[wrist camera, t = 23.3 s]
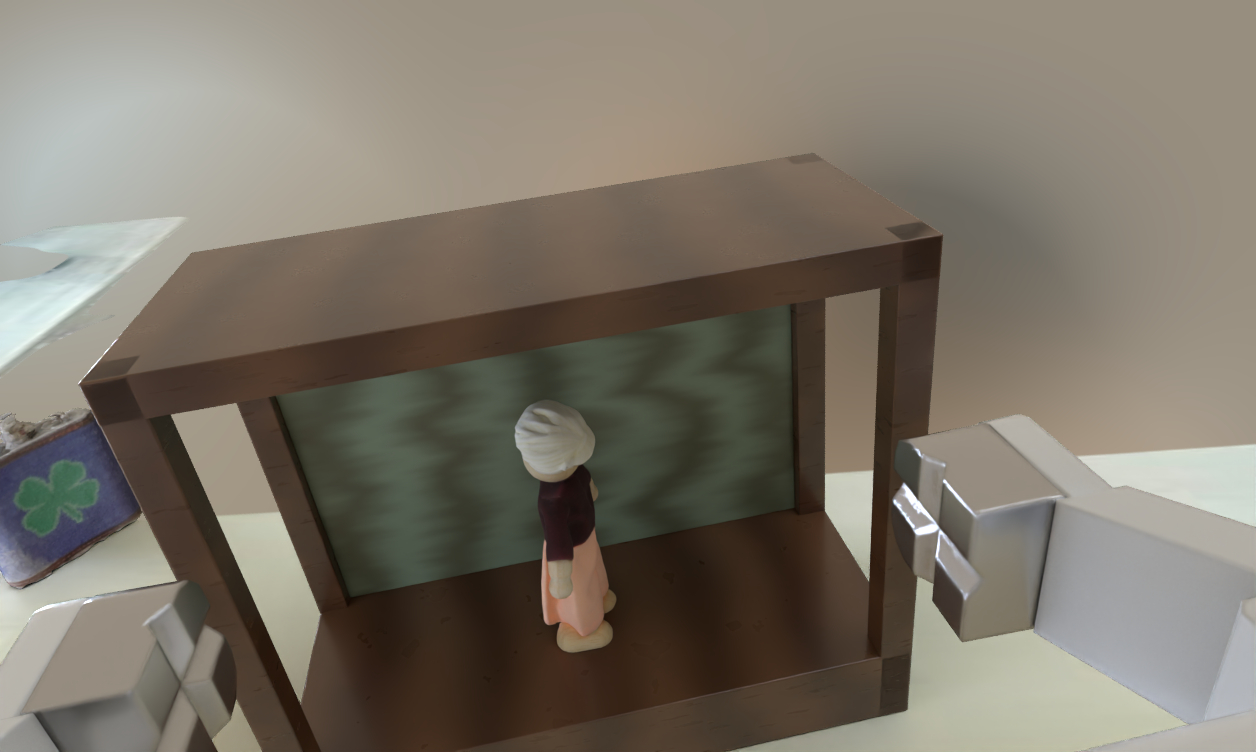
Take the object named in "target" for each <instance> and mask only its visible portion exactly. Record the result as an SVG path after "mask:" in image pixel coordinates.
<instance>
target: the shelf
mask: <svg viewBox="0 0 1256 752" xmlns="http://www.w3.org/2000/svg"><path fill="white" fill-rule="evenodd" d="M942 241H943V234H941V233H940V232H938V231H937V230H935V229H934V228H932V227H930V226H929V225H927V224H926V223H924V222H923V221H921V220H919V219H918V218H916V217H915V216H913V215H911V214H910V213H908V212H907V211H905V210H903V209H902V208H900V207H899V206H897V205H896V204H894V203H892V202H891V201H889V200H887V199H886V198H884V197H883V196H881V195H880V194H878V193H877V192H875V191H873V190H872V189H870V188H869V187H867V186H865V185H864V184H862V183H861V182H859V181H858V180H856V179H854V178H853V177H851V176H849V175H848V174H846V173H845V172H843V171H842V170H840V169H838V168H837V167H835V166H834V165H832V164H830V163H829V162H827V161H826V160H824V159H823V158H821V157H819V156H818V155H816V154H815V153H810V154H804V155H798V156H791V157H785V158H779V159H773V160H766V161H760V162H754V163H748V164H742V165H736V166H729V167H723V168H717V169H710V170H704V171H698V172H692V173H686V174H680V175H673V176H667V177H661V178H655V179H648V180H642V181H636V182H630V183H623V184H617V185H611V186H605V187H598V188H593V189H586V190H580V191H573V192H567V193H561V194H555V195H549V196H543V197H537V198H530V199H524V200H518V201H511V202H505V203H499V204H493V205H487V206H480V207H474V208H468V209H462V210H455V211H449V212H443V213H437V214H430V215H424V216H418V217H412V218H405V219H399V220H393V221H387V222H381V223H375V224H368V225H362V226H356V227H350V228H344V229H337V230H331V231H325V232H319V233H312V234H306V235H300V236H293V237H288V238H281V239H275V240H269V241H262V242H256V243H250V244H244V245H237V246H231V247H225V248H219V249H213V250H207V251H200V252H194V253H191V254H190V255H189V256H188V257H187V259H186V260H185V261H184V262H183V263H182V264H181V266H180V267H179V268H178V269H177V270H176V271H175V272H174V274H173V275H172V276H171V277H170V278H169V279H168V281H167V282H166V283H165V284H164V285H163V287H161V289H160V290H159V291H158V292H157V293H156V294H155V296H154V297H153V298H152V299H151V300H150V301H149V302H148V304H147V305H146V306H145V307H144V308H143V310H142V311H141V312H140V313H139V314H138V315H137V316H136V318H135V319H134V320H133V321H132V322H131V323H130V324H129V326H128V327H127V328H126V329H125V330H124V331H123V333H122V334H121V335H120V336H119V337H118V338H117V339H116V341H115V342H114V343H113V344H112V345H111V346H110V348H109V349H108V350H107V351H106V352H105V353H104V355H103V356H102V357H101V358H100V359H99V360H98V362H97V363H96V364H95V365H94V366H93V367H92V368H91V370H90V371H89V372H88V373H87V374H86V375H85V377H84V378H83V379H82V380H81V381H80V382H79V384H78V385H79V387H80V389H81V391H82V393H83V395H84V397H85V399H86V401H87V403H88V405H89V407H90V409H91V411H92V413H93V415H94V417H95V419H96V421H97V423H98V425H99V427H100V428H101V430H102V432H103V434H104V436H105V438H106V440H107V442H108V444H109V446H110V448H111V450H112V452H113V454H114V456H115V458H116V460H117V462H118V464H119V466H120V468H121V470H122V472H123V474H124V476H125V478H126V480H127V482H128V484H129V486H130V488H131V490H132V492H133V494H134V496H135V498H136V500H137V502H138V504H139V506H140V508H141V510H142V512H143V514H144V516H145V518H146V520H147V522H148V524H149V526H150V528H151V530H152V532H153V534H154V536H155V538H156V540H157V542H158V544H159V546H160V548H161V550H162V552H163V554H164V556H165V558H166V560H167V562H168V564H169V566H170V568H171V570H172V572H173V574H174V576H175V578H176V580H177V581H181V580H187V579H188V580H190V581H193V582H196V583H198V584H199V585H200V587H201V589H202V591H203V592H204V594H205V596H206V598H207V600H208V602H209V604H210V605H211V606H210V609H209V612H208V614H207V617H206V620H205V622H204V624H206V625H207V626H209V627H211V628H213V629H215V630H216V631H218V632H220V633H222V634H224V635H225V637H226V639H227V641H228V643H229V645H230V648H231V650H232V652H233V657H234V661H235V665H236V670H237V692H236V699H237V701H238V703H239V705H240V707H241V709H242V711H243V713H244V715H245V717H246V719H247V721H248V723H249V725H250V727H251V729H252V731H253V733H254V735H255V737H256V739H257V741H258V743H259V745H260V747H261V749H262V751H263V752H724V751H728V750H733V749H737V748H741V747H746V746H750V745H754V744H759V743H763V742H768V741H772V740H776V739H781V738H785V737H789V736H794V735H798V734H802V733H807V732H811V731H816V730H820V729H824V728H829V727H833V726H837V725H842V724H846V723H850V722H855V721H859V720H864V719H868V718H872V717H877V716H882V715H887V714H891V713H895V712H900V711H904V710H907V708H908V695H909V681H910V668H911V655H912V641H913V628H914V614H915V601H916V587H917V576H916V575H914V574H913V572H912V571H911V569H910V568H909V566H908V565H907V563H906V562H905V561H904V559H903V557H902V554H901V552H900V550H899V548H898V546H897V543H896V539H895V534H894V530H893V526H892V499H893V497H894V496H895V494H896V493H897V492H898V490H899V489H900V488H901V486H902V485H903V484H904V482H903V481H902V479H901V478H900V477H899V476H898V474H897V473H896V472H895V470H894V455H895V450H896V447H897V445H898V442H899V440H903V439H908V438H913V437H918V436H923V435H928V426H929V413H930V400H931V386H932V373H933V358H934V346H935V332H936V318H937V305H938V292H939V279H940V267H941V254H942ZM878 288H880V314H879V340H878V366H877V367H878V369H877V393H876V419H875V420H876V421H875V446H874V473H873V499H872V526H871V552H870V579H869V581H868V580H867V578H866V577H865V575H864V573H863V572H862V570H861V569H860V567H859V565H858V564H857V562H856V561H855V559H854V557H853V556H852V554H851V552H850V551H849V549H848V548H847V546H846V544H845V543H844V541H843V540H842V538H841V536H840V535H839V533H838V532H837V530H836V528H835V527H834V525H833V523H832V522H831V520H830V519H829V517H828V515H827V514H826V512H825V298H828V297H833V296H839V295H844V294H849V293H855V292H861V291H867V290H872V289H878ZM541 400H551V401H556V402H559V403H561V404H563V405H565V406H569V407H571V408H573V409H575V410H577V411H578V412H579V413H580V414H581V416H582V417H583V419H584V420H585V422H586V425H587V426H589V428H590V429H591V430H592V432H593V434H594V436H595V446H594V449H593V453H592V456H591V457H590V458H589V459H588V460H587V461H586V462H585V463H583V465H584V466H585V468H587V469H588V471H589V472H590V474H591V478H592V480H593V483H594V485H595V486H596V487H597V489H598V497H597V498H596V500H595V501H593V502H594V508H595V533H596V540H597V542H598V544H599V547H600V551H601V555H602V560H603V563H604V567H605V570H606V574H607V579H608V584H609V587H608V589H609V590H611V591H612V592H613V593H614V594H615V595H616V603H615V606H614V608H613V609H612V610H611V611H609V612H607V613H604V617H603V620H605V621H607V622H608V623H609V624H610V625H611V627H612V629H613V637H612V640H611V642H610V643H609V644H608V645H606V646H604V647H602V648H597V649H591V650H586V651H580V652H574V653H572V652H567V651H563V650H562V649H561V648H560V647H559V646H558V644H557V631H558V629H559V625H560V623H561V622H557V623H555V624H553V625H547V624H546V623H545V621H544V614H543V607H542V588H541V579H542V559H543V545H544V540H545V538H544V531H543V527H542V524H541V520H540V516H539V512H538V495H539V488H540V480H539V479H537V478H535V477H533V476H532V475H531V474H530V473H529V471H528V470H527V468H526V467H525V465H524V462H523V458H522V453H521V451H520V450H519V449H518V448H517V447H516V441H515V433H516V430H515V426H516V425H517V423H518V420H519V419H520V417H521V415H522V414H523V412H524V411H525V409H526V408H527V407H528V406H530V405H532V404H534V403H536V402H538V401H541ZM232 403H237V405H238V408H239V411H240V413H241V416H242V418H243V420H244V423H245V426H246V428H247V431H248V433H249V436H250V438H251V440H252V443H253V446H254V448H255V451H256V453H257V456H258V458H259V461H260V463H261V466H262V468H263V471H264V473H265V475H266V478H267V481H268V483H269V486H270V488H271V491H272V493H273V496H274V498H275V501H276V503H277V506H278V508H279V511H280V513H281V516H282V518H283V521H284V523H285V526H286V528H287V531H288V533H289V536H290V538H291V541H292V543H293V546H294V548H295V551H296V553H297V556H298V558H299V561H300V563H301V566H302V568H303V571H304V573H305V576H306V578H307V581H308V583H309V586H310V588H311V591H312V593H313V596H314V598H315V601H316V604H317V606H318V609H319V611H320V618H319V622H318V627H317V632H316V636H315V641H314V646H313V650H312V655H311V660H310V664H309V669H308V673H307V678H306V683H305V687H304V692H303V697H302V701H301V705H300V703H299V701H298V698H297V696H296V694H295V692H294V689H293V687H292V685H291V683H290V681H289V678H288V676H287V674H286V672H285V669H284V667H283V665H282V663H281V660H280V658H279V656H278V654H277V651H276V649H275V647H274V645H273V643H272V640H271V638H270V636H269V634H268V631H267V629H266V627H265V625H264V622H263V620H262V618H261V616H260V614H259V611H258V609H257V607H256V605H255V602H254V600H253V598H252V596H251V593H250V591H249V589H248V587H247V584H246V582H245V580H244V578H243V576H242V573H241V571H240V569H239V567H238V564H237V562H236V560H235V558H234V555H233V553H232V551H231V549H230V546H229V544H228V542H227V540H226V538H225V535H224V533H223V531H222V529H221V526H220V524H219V522H218V520H217V517H216V515H215V513H214V511H213V509H212V506H211V504H210V502H209V500H208V497H207V495H206V493H205V491H204V488H203V486H202V484H201V482H200V479H199V477H198V475H197V473H196V471H195V468H194V466H193V464H192V462H191V459H190V457H189V455H188V453H187V451H186V448H185V446H184V444H183V442H182V439H181V437H180V435H179V433H178V430H177V428H176V426H175V424H174V421H173V419H172V417H171V414H176V413H182V412H187V411H193V410H199V409H204V408H210V407H216V406H221V405H227V404H232Z"/></svg>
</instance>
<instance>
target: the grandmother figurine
mask: <svg viewBox="0 0 1256 752" xmlns="http://www.w3.org/2000/svg"><path fill="white" fill-rule="evenodd" d="M515 430H516V433H515V441H516V447H517V448H518V449H519V450H520V451H521V453H522V458H523V462H524V465H525V467H526V468H527V470H528V471H529V473H530V474H531V475H532V476H533V477H535V478H537V479H539V480H540V488H539V495H538V512H539V516H540V520H541V524H542V527H543V531H544V538H545V540H544V545H543V559H542V579H541V588H542V607H543V614H544V621H545V623H546V624H547V625H553V624H555V623H557V622H561V623H560V625H559V629H558V631H557V644H558V646H559V647H560V648H561V649H562V650H563V651H567V652H572V653H574V652H580V651H586V650H591V649H597V648H602V647H604V646H606V645H608V644H609V643H610V642H611V640H612V637H613V629H612V627H611V625H610V624H609V623H608V622H607V621H605V620H603V617H604V613H607V612H609V611H611V610H612V609H613V608H614V606H615V603H616V595H615V594H614V593H613V592H612V591H611V590H609V589H608V587H609V584H608V579H607V574H606V570H605V567H604V563H603V560H602V555H601V551H600V547H599V544H598V542H597V540H596V533H595V508H594V502H593V501H595V500H596V498H597V497H598V489H597V487H596V486H595V485H594V483H593V480H592V478H591V474H590V472H589V471H588V469H587V468H585V466H584V465H583V463H585V462H586V461H587V460H588V459H589V458H590V457H591V456H592V453H593V449H594V446H595V436H594V434H593V432H592V430H591V429H590V428H589V426H587V425H586V422H585V420H584V419H583V417H582V416H581V414H580V413H579V412H578V411H577V410H575V409H573V408H571V407H569V406H565V405H563V404H561V403H559V402H556V401H551V400H541V401H538V402H536V403H534V404H532V405H530V406H528V407H527V408H526V409H525V411H524V412H523V414H522V415H521V417H520V419H519V420H518V423H517V425H516V426H515Z"/></svg>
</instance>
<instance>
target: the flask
mask: <svg viewBox="0 0 1256 752" xmlns="http://www.w3.org/2000/svg"><path fill="white" fill-rule="evenodd" d="M11 414H12V413H11V412H7V413H5V414H3V415H1V416H0V420H3V421H2V422H0V431H1V435H0V438H1V439H2V440H3V441H4V442H2V443H0V571H1V572H2V574H3V576H4V578H5V580H6V581H7V582H8V583H9V584H10V585H11V586H12V587H13V586H14V587H17V588H20V589H21V588H23V587H25V585H27V584H30V583H33V582H37V581H39V580H41V579H43V578H44V577H47V576H49V575H51V574H52V572H51V571H52V570H55V569H57V568H59V567H60V566H62V565H63V564H66V563H68V562H69V561H72V560H73V559H75V558H76V557H78V556H81V555H82V554H83V553H85V552H87V551H88V549H89V548H90V547H91V546H92V545H93V544H94V543H96V542H98V541H104V539H106V538H107V537H108V536H109V535H110V534H112V533H113V532H116V531H120V529H122V528H123V527H124V526H125V525H128V524H129V523H132V522H134V521H136V520H137V519H138V517H140V514H141V513H142V511H141V508H140V506H139V504H138V502H137V500H136V498H135V496H134V494H133V492H132V490H131V488H130V486H129V484H128V482H127V480H126V478H125V476H124V474H123V472H122V470H121V468H120V466H119V464H118V462H117V460H116V458H115V456H114V454H113V452H112V450H111V448H110V446H109V444H108V442H107V440H106V438H105V436H104V434H103V432H102V430H101V428H100V427H99V425H98V423H97V421H96V419H95V417H94V415H93V413H92V411H91V410H88V409H81V408H75V409H72V410H70V411H68V412H65V413H61V412H57V413H54V414H52V415H50V416H49V417H51V416H57V417H55V418H52V419H51V418H49V419H44V420H41V421H39V422H37V423H31V422H19V421H17V420H16V418H15V415H16V414H13V415H11ZM10 415H11V416H10ZM7 416H9V417H7ZM6 417H7V418H6ZM5 418H6V419H5Z"/></svg>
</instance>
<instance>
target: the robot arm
mask: <svg viewBox="0 0 1256 752" xmlns="http://www.w3.org/2000/svg"><path fill="white" fill-rule="evenodd" d="M894 470H895V472H896V473H897V474H898V476H899V477H900V478H901V479H902V481H903V482H904V484H903V485H902V486H901V488H900V489H899V490H898V492H897V493H896V494H895V496H894V497H893V499H892V526H893V530H894V534H895V539H896V543H897V546H898V548H899V550H900V552H901V554H902V557H903V559H904V561H905V562H906V563H907V565H908V566H909V568H910V569H911V571H912V572H913V574H914V575H916V576H918V577H920V578H922V579H925V580H927V581H929V582H931V583H933V584H934V586H933V599H932V601H933V602H934V604H935V605H936V607H937V608H938V609H939V611H940V612H941V614H942V615H943V616H944V618H945V619H946V621H947V622H948V623H949V625H950V626H951V628H952V629H953V631H954V632H955V633H956V635H957V636H958V638H959V639H960V640H961V642H967V641H972V640H977V639H982V638H987V637H992V636H998V635H1003V634H1008V633H1013V632H1018V631H1023V630H1029V629H1034V633H1036V634H1038V635H1039V636H1041V637H1043V638H1044V639H1046V640H1048V641H1049V642H1051V643H1053V644H1054V645H1056V646H1058V647H1059V648H1061V649H1063V650H1064V651H1066V652H1068V653H1069V654H1071V655H1073V656H1074V657H1076V658H1078V659H1080V660H1081V661H1083V662H1085V663H1086V664H1088V665H1090V666H1091V667H1093V668H1095V669H1096V670H1098V671H1100V672H1101V673H1103V674H1105V675H1106V676H1108V677H1110V678H1111V679H1113V680H1115V681H1116V682H1118V683H1120V684H1122V685H1123V686H1125V687H1127V688H1128V689H1130V690H1132V691H1133V692H1135V693H1137V694H1138V695H1140V696H1142V697H1143V698H1145V699H1147V700H1148V701H1150V702H1152V703H1153V704H1155V705H1157V706H1158V707H1160V708H1162V709H1164V710H1165V711H1167V712H1169V713H1170V714H1172V715H1174V716H1175V717H1177V718H1179V719H1180V720H1182V721H1184V722H1185V723H1187V724H1189V725H1185V726H1181V727H1177V728H1173V729H1168V730H1164V731H1160V732H1156V733H1152V734H1148V735H1143V736H1139V737H1135V738H1131V739H1127V740H1122V741H1118V742H1114V743H1110V744H1106V745H1102V746H1097V747H1093V748H1089V749H1085V750H1081V751H1076V752H1256V527H1254V526H1250V525H1247V524H1244V523H1241V522H1238V521H1235V520H1232V519H1229V518H1226V517H1222V516H1219V515H1216V514H1213V513H1210V512H1207V511H1204V510H1201V509H1197V508H1194V507H1191V506H1188V505H1185V504H1182V503H1179V502H1176V501H1172V500H1169V499H1166V498H1163V497H1160V496H1157V495H1154V494H1151V493H1148V492H1144V491H1141V490H1138V489H1135V488H1132V487H1129V486H1122V487H1117V488H1113V487H1111V486H1110V485H1109V484H1108V483H1107V482H1106V481H1104V480H1103V479H1102V478H1101V477H1100V476H1098V475H1097V474H1096V473H1095V472H1094V471H1093V470H1091V469H1090V468H1089V467H1088V466H1087V465H1085V464H1084V463H1083V462H1082V461H1081V460H1080V459H1078V458H1077V457H1076V456H1075V455H1074V454H1072V453H1071V452H1070V451H1069V450H1068V449H1066V448H1065V447H1064V446H1063V445H1061V443H1059V442H1058V441H1057V440H1056V439H1055V438H1054V437H1052V436H1051V435H1050V434H1049V433H1047V432H1046V431H1045V430H1044V429H1043V428H1042V427H1041V426H1039V425H1038V424H1037V423H1036V422H1034V421H1033V420H1032V419H1031V418H1030V417H1027V416H1024V415H1020V414H1016V415H1011V416H1006V417H1002V418H998V419H993V420H989V421H984V422H980V423H978V424H977V425H973V426H968V427H963V428H958V429H953V430H948V431H943V432H938V433H933V434H928V435H923V436H918V437H913V438H908V439H903V440H899V442H898V445H897V447H896V450H895V455H894ZM210 606H211V605H210V604H209V602H208V600H207V598H206V596H205V594H204V592H203V591H202V589H201V587H200V585H199V584H198V583H196V582H193V581H190V580H188V579H187V580H181V581H175V582H170V583H164V584H158V585H153V586H147V587H141V588H136V589H130V590H124V591H118V592H113V593H107V594H101V595H96V596H94V597H86V598H81V599H75V600H70V601H65V602H60V603H54V604H49V605H47V606H45V607H43V608H41V609H39V610H38V611H36V612H34V613H33V615H32V616H31V618H30V620H29V621H28V623H27V624H26V626H25V627H24V629H23V630H22V632H21V633H20V635H19V637H18V638H17V640H16V641H15V643H14V644H13V646H12V647H11V649H10V650H9V652H8V654H7V655H6V657H5V658H4V660H3V661H2V663H1V664H0V752H218V751H217V750H216V748H215V746H214V744H213V742H212V739H213V737H214V736H215V735H216V734H217V733H218V732H219V731H220V730H221V729H222V728H223V727H224V726H225V725H226V724H227V723H228V722H229V721H230V719H231V716H232V712H233V708H234V705H235V701H236V692H237V670H236V665H235V661H234V657H233V652H232V650H231V648H230V645H229V643H228V641H227V639H226V637H225V635H224V634H222V633H220V632H218V631H216V630H215V629H213V628H211V627H209V626H207V625H206V624H204V622H205V620H206V617H207V614H208V612H209V609H210Z"/></svg>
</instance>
